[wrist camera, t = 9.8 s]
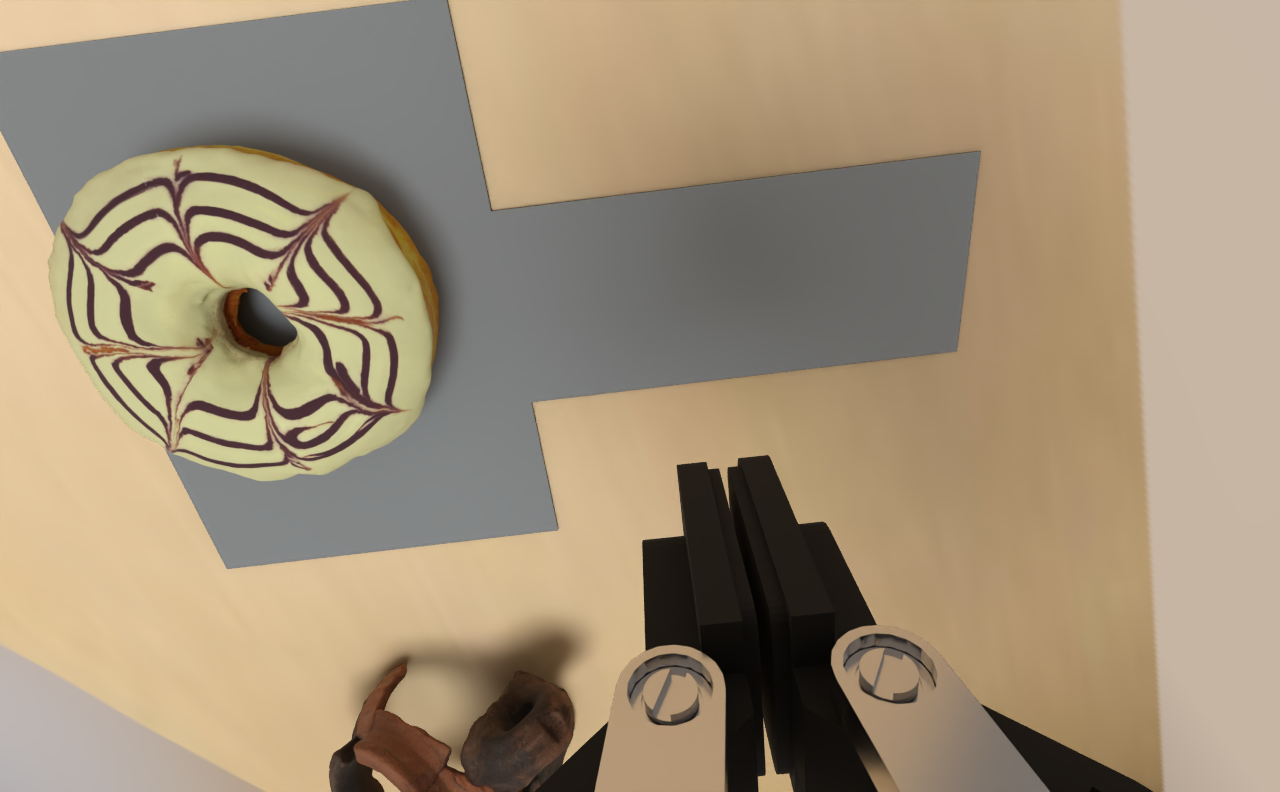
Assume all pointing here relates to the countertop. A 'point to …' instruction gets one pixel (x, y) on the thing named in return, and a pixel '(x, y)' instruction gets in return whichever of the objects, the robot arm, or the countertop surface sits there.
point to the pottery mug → (491, 756)
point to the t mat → (494, 260)
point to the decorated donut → (209, 299)
